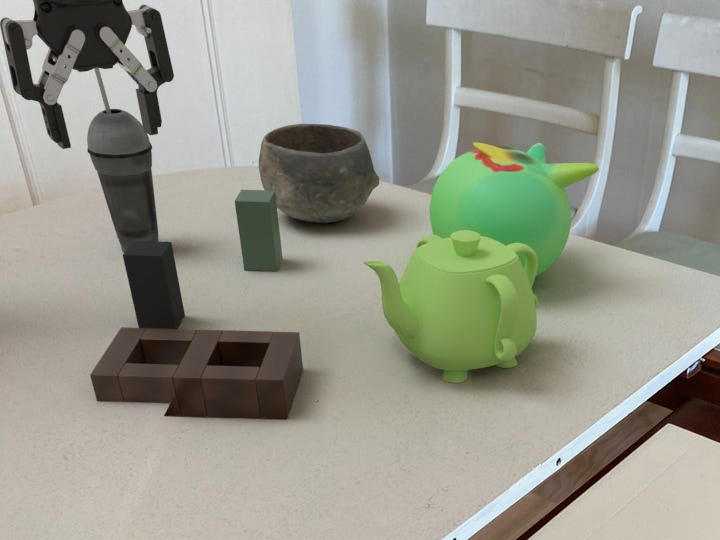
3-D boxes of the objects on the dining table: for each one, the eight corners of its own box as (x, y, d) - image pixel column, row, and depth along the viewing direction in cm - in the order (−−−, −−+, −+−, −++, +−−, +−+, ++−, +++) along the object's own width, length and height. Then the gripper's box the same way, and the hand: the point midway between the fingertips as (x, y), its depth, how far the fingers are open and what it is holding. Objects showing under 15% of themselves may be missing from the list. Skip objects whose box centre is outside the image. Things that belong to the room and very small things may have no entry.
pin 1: (139, 330, 104) (122, 254, 99) (148, 314, 107) (133, 240, 102) (176, 331, 104) (161, 256, 99) (185, 315, 107) (171, 241, 102)
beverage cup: (139, 264, 117) (100, 76, 104) (97, 251, 120) (53, 67, 107) (183, 245, 122) (151, 64, 108) (141, 233, 125) (104, 55, 111)
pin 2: (244, 270, 117) (234, 200, 111) (250, 257, 120) (241, 189, 114) (277, 271, 117) (269, 201, 111) (282, 258, 120) (275, 190, 114)
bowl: (263, 201, 135) (254, 122, 128) (374, 197, 137) (371, 119, 130) (265, 238, 125) (255, 154, 118) (385, 232, 127) (382, 150, 120)
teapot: (505, 409, 93) (512, 279, 85) (368, 384, 96) (361, 256, 88) (547, 339, 105) (557, 218, 96) (424, 318, 108) (422, 199, 99)
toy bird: (410, 256, 121) (407, 127, 111) (532, 240, 126) (540, 115, 116) (466, 313, 109) (468, 174, 99) (598, 293, 114) (613, 159, 104)
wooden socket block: (100, 414, 91) (89, 374, 88) (130, 364, 98) (121, 327, 95) (287, 419, 91) (283, 380, 88) (303, 369, 98) (299, 332, 96)
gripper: (129, -77, 88) (164, 120, 99) (-36, -68, 82) (21, 141, 93) (161, -66, 84) (193, 138, 94) (-11, -57, 77) (45, 162, 88)
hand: (108, 139), depth 94 cm, fingers open, 8 cm apart
